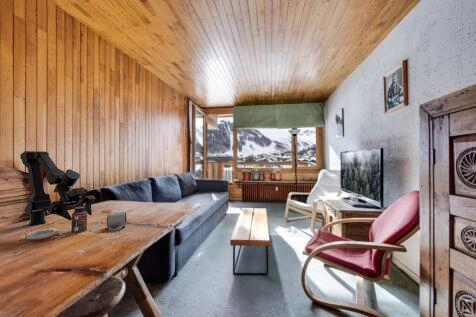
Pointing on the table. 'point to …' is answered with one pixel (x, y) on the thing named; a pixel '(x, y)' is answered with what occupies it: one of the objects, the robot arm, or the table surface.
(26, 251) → the table surface
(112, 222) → the ceramic mug
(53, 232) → the ring seat
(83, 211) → the supplement bottle
